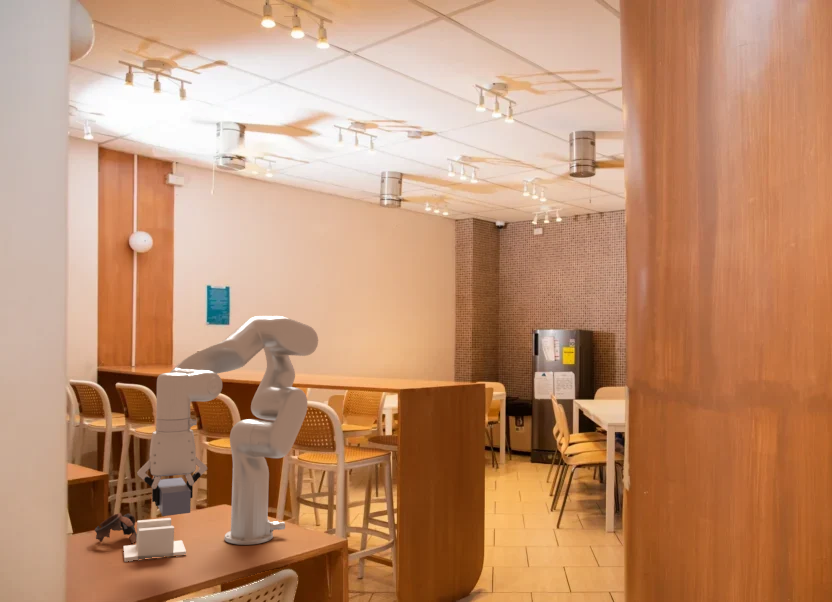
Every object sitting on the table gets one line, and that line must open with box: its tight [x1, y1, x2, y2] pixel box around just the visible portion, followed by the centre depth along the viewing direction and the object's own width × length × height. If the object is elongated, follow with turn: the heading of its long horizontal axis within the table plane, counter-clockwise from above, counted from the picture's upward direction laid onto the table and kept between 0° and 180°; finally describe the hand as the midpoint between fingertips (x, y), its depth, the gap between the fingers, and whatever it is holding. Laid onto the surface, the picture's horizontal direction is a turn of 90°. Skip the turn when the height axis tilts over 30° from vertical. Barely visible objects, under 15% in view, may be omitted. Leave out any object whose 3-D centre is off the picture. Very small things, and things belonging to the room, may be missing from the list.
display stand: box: [123, 517, 187, 563], centre depth 173 cm, size 14×10×7 cm
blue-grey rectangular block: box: [157, 477, 192, 517], centre depth 163 cm, size 6×14×5 cm, turn 27°
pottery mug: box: [94, 512, 137, 544], centre depth 183 cm, size 12×10×8 cm
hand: (172, 502), depth 163 cm, fingers closed on blue-grey rectangular block, 6 cm apart
